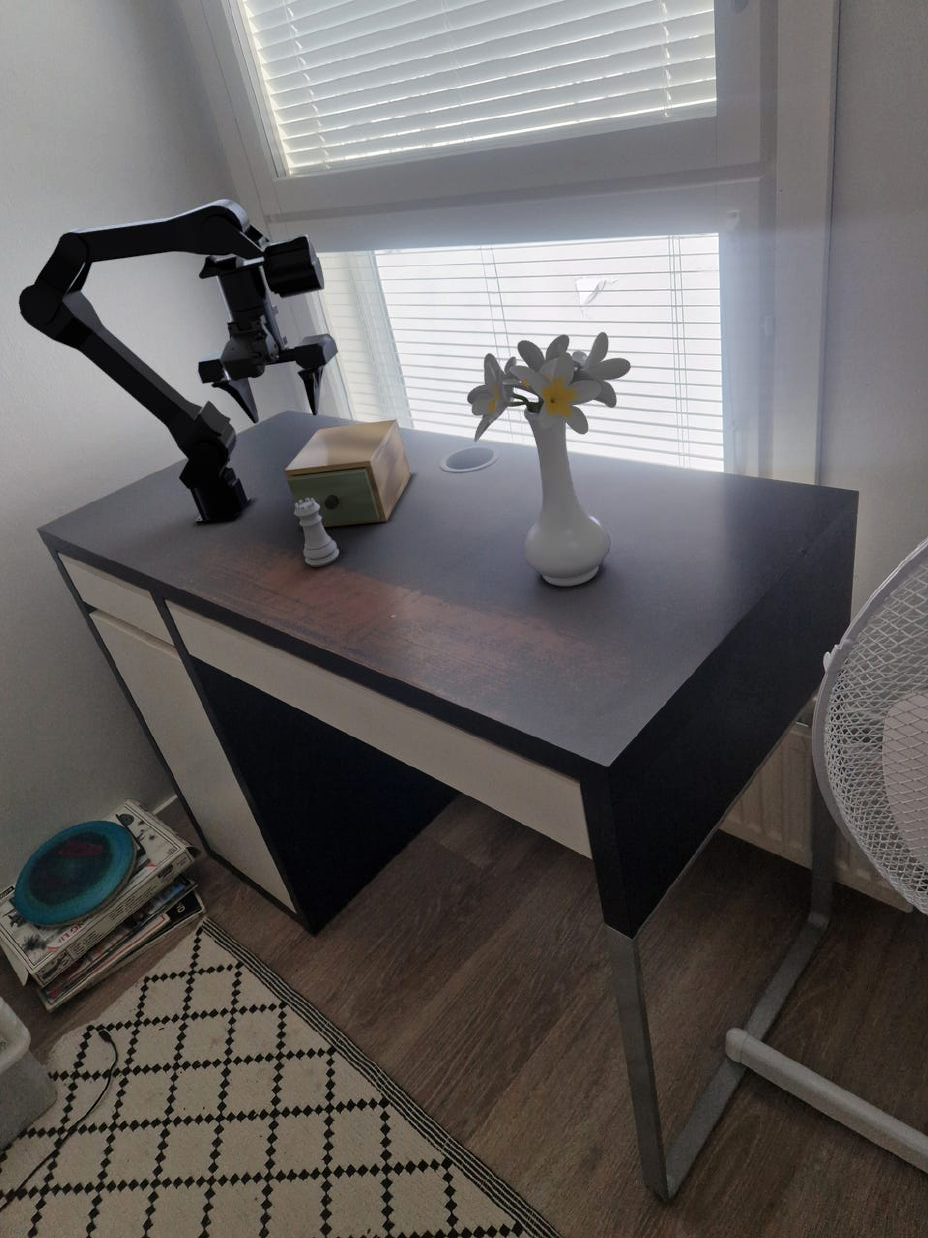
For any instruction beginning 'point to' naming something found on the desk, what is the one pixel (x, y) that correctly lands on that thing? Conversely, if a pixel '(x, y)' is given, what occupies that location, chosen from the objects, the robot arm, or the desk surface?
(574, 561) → the flower vase
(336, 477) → the drawer
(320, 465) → the drawer unit
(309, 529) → the rook chess piece
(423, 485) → the desk surface
